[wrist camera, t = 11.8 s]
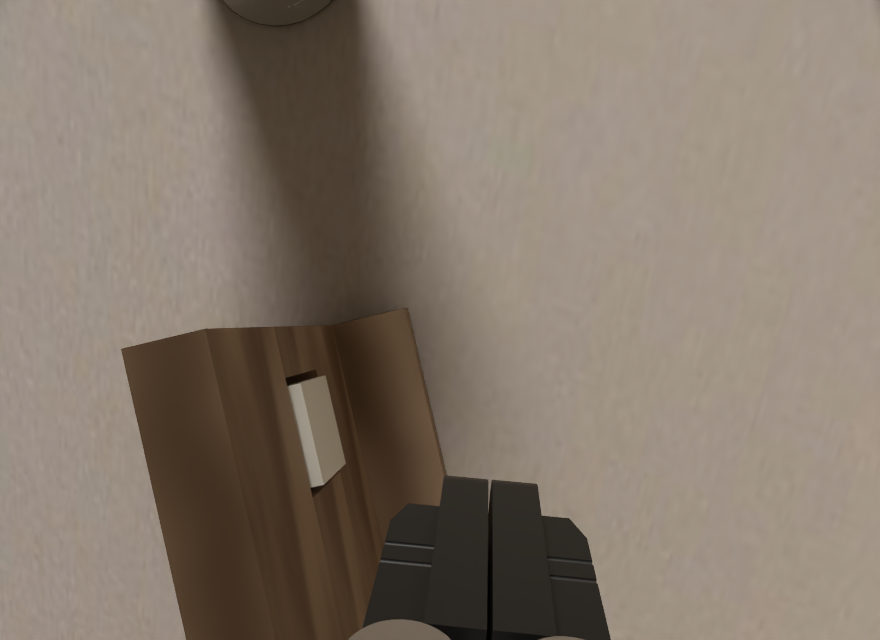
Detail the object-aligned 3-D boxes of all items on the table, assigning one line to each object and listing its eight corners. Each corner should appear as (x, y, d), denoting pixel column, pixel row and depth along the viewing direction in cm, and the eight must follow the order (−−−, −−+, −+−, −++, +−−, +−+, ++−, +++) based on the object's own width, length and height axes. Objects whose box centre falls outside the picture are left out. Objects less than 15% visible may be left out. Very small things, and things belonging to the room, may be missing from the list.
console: (385, 745, 43) (292, 1113, 23) (291, 336, 43) (121, 348, 24) (504, 723, 42) (514, 1080, 22) (407, 308, 43) (334, 297, 23)
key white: (204, 494, 36) (162, 520, 31) (184, 407, 36) (139, 420, 31) (345, 463, 35) (323, 484, 31) (325, 375, 35) (300, 383, 31)
